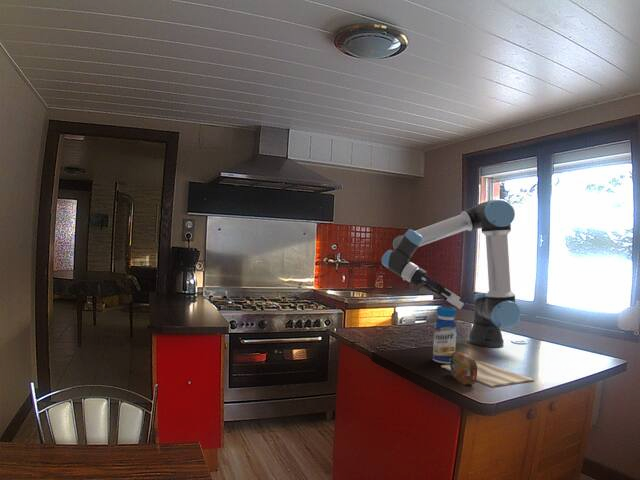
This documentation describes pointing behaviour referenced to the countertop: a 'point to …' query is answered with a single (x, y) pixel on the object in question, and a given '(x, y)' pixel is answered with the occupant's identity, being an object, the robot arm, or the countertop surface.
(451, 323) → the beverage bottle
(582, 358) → the countertop surface
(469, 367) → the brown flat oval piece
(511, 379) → the beige flat square
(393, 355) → the countertop surface
